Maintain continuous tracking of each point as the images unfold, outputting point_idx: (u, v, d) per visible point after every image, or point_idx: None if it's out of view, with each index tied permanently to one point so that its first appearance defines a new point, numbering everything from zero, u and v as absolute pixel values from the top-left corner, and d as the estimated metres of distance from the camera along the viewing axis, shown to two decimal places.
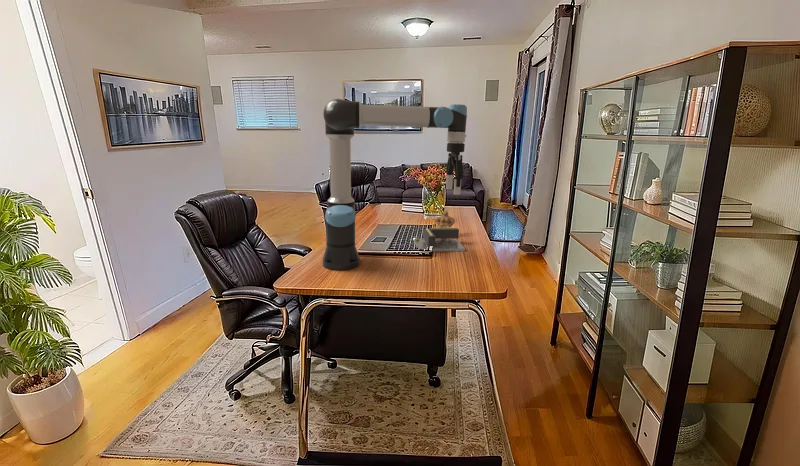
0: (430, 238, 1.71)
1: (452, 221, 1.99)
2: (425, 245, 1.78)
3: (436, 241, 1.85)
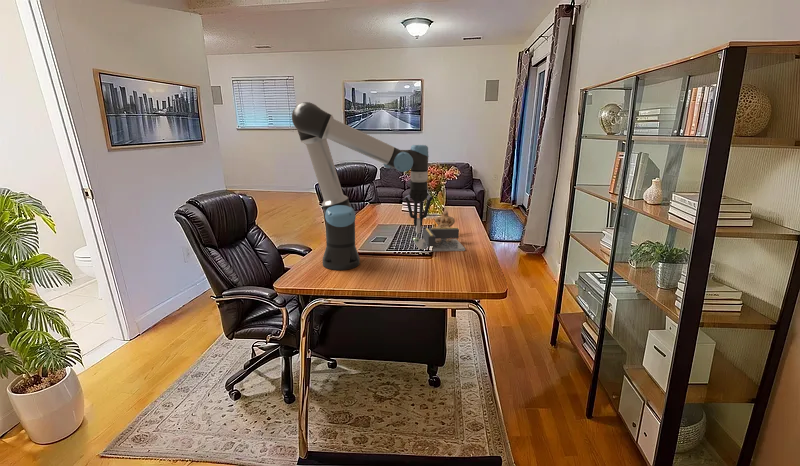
0: (430, 238, 1.71)
1: (452, 221, 1.99)
2: (425, 245, 1.78)
3: (436, 241, 1.85)
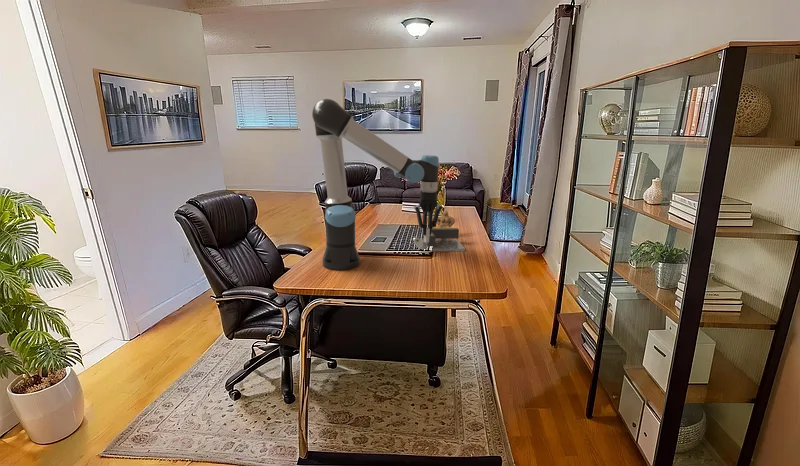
0: (430, 238, 1.71)
1: (452, 221, 1.99)
2: (425, 245, 1.78)
3: (436, 241, 1.85)
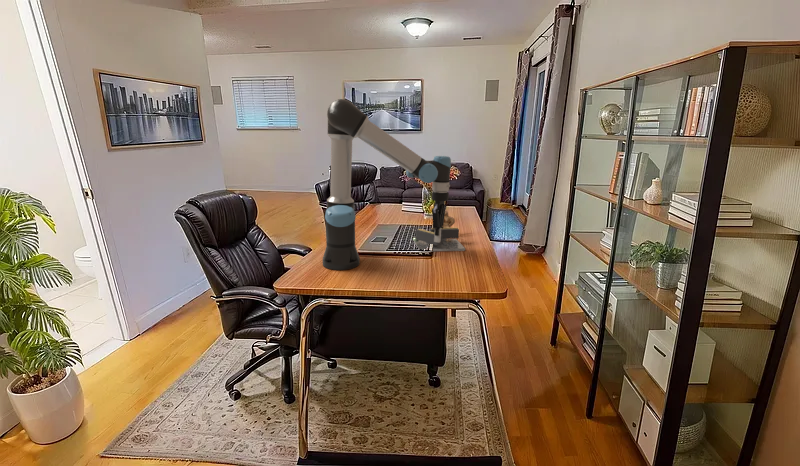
0: None
1: (452, 221, 1.99)
2: (425, 245, 1.78)
3: None
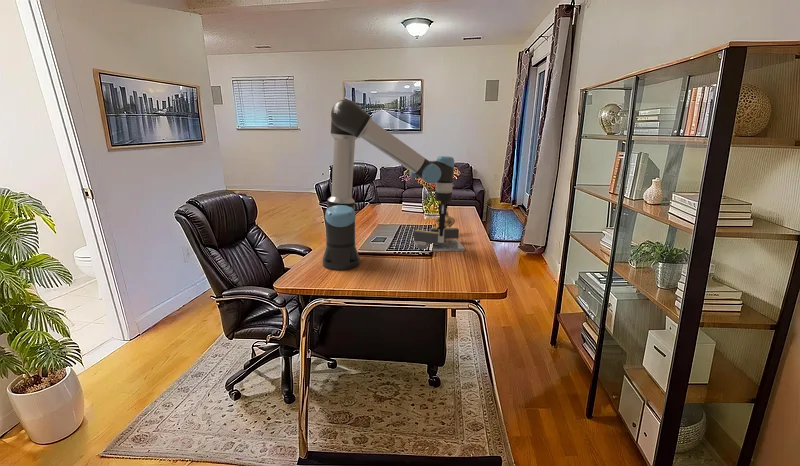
0: None
1: (452, 221, 1.99)
2: (425, 245, 1.78)
3: None
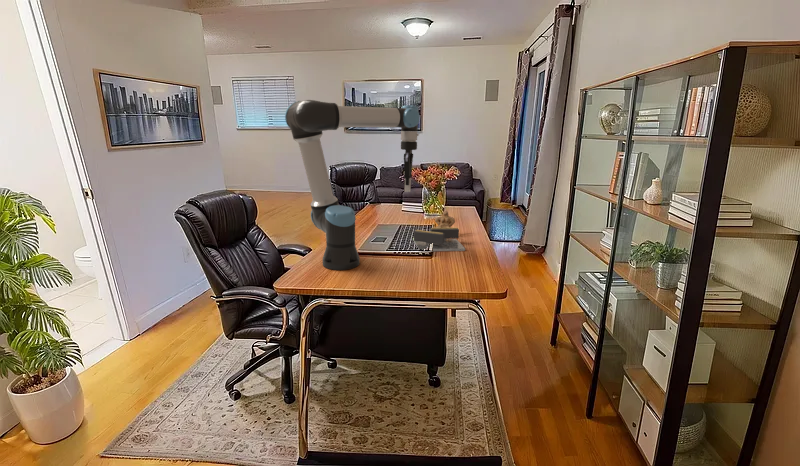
0: (443, 236, 1.75)
1: (452, 221, 1.99)
2: (425, 245, 1.78)
3: None
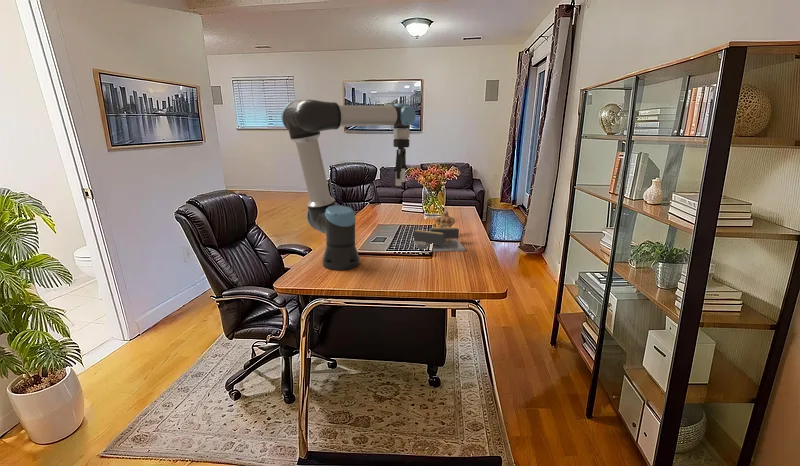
0: (443, 236, 1.75)
1: (452, 221, 1.99)
2: (425, 245, 1.78)
3: None
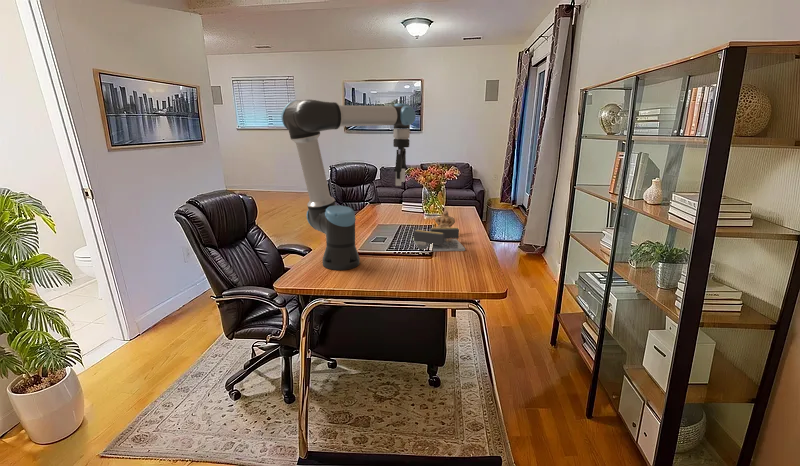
0: (443, 236, 1.75)
1: (452, 221, 1.99)
2: (425, 245, 1.78)
3: None
